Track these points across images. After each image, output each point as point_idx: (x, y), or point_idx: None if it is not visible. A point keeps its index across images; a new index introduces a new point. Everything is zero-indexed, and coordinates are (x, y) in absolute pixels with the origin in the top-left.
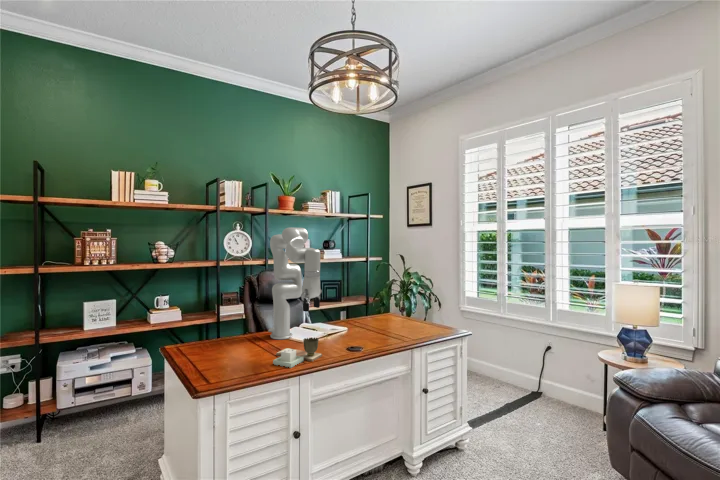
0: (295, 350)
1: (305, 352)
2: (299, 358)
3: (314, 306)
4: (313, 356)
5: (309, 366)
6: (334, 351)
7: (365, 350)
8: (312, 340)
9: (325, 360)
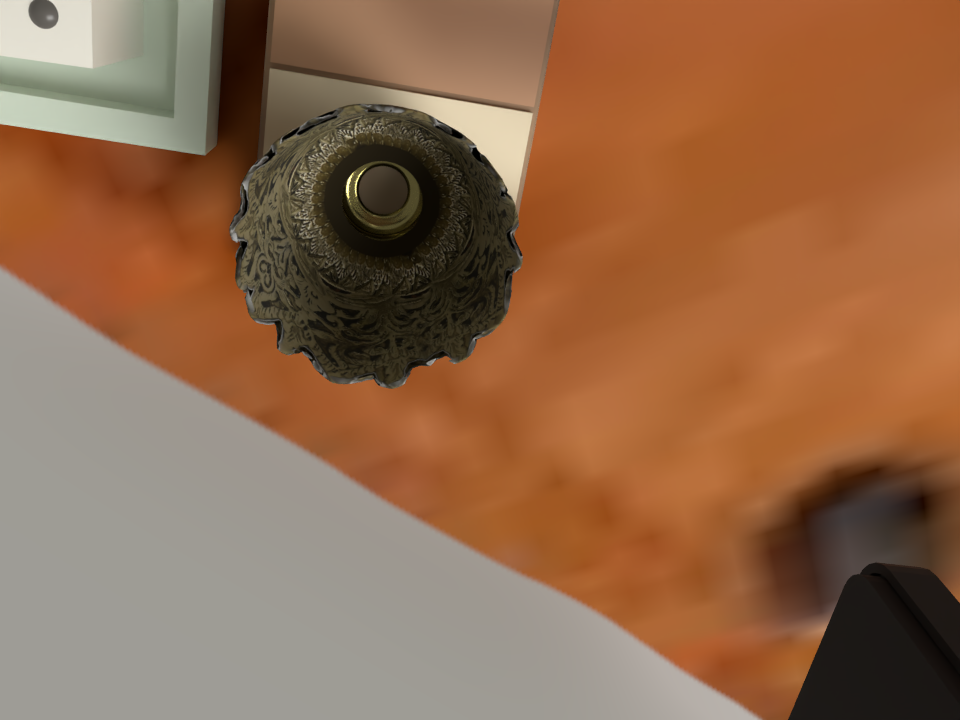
0: (69, 64)
1: (485, 57)
2: (124, 123)
3: (857, 620)
4: None
5: (79, 297)
6: (723, 371)
7: None
8: (501, 217)
9: (359, 391)
